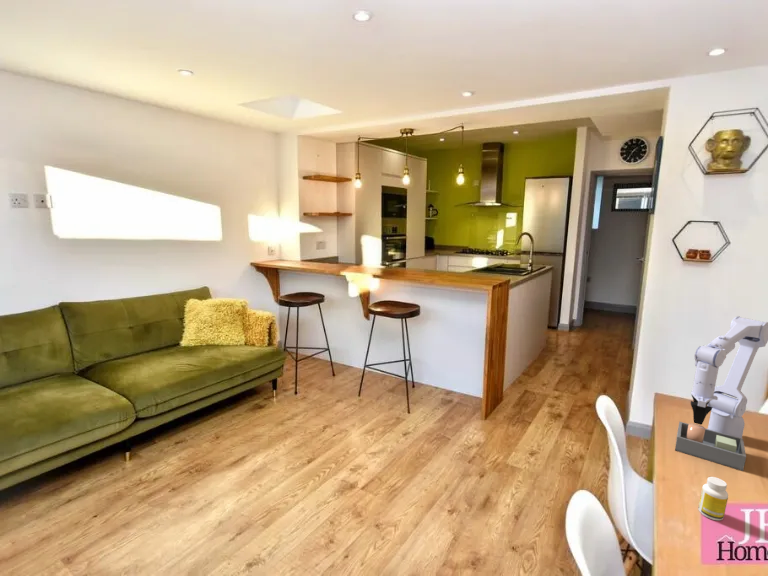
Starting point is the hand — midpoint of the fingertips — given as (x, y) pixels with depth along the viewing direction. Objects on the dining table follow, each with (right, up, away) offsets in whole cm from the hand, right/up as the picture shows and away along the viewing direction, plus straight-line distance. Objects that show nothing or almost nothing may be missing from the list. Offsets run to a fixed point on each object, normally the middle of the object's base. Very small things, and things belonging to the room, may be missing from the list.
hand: (697, 419), depth 140 cm
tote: (+3, -11, 0) cm, 11 cm away
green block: (+6, -11, -3) cm, 13 cm away
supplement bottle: (-20, -16, -30) cm, 39 cm away
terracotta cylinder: (0, -10, +2) cm, 10 cm away
